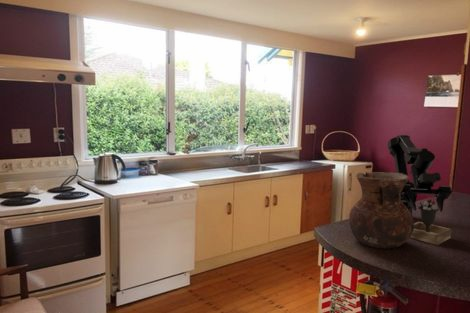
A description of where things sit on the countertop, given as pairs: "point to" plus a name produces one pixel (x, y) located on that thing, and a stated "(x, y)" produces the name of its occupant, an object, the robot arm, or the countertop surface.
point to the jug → (381, 211)
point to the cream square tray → (434, 237)
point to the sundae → (428, 213)
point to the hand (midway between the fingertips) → (428, 210)
